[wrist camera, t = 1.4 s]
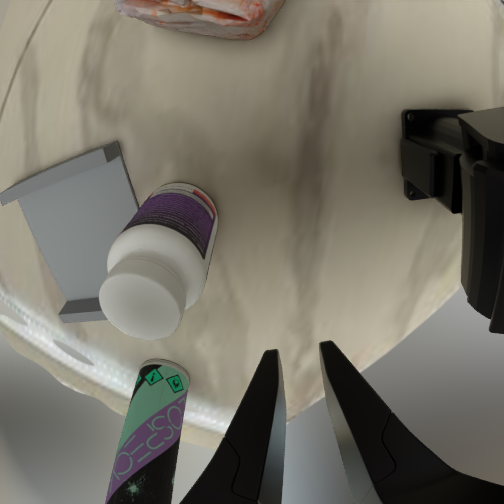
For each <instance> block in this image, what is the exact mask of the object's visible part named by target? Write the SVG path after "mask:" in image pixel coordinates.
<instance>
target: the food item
mask: <svg viewBox="0 0 504 504" xmlns="http://www.w3.org/2000/svg"><path fill="white" fill-rule="evenodd" d="M284 1H285V0H115V7H116V9H117V11H120V14H121V15H126V16H129V17H131V18H133V17H135V18H137V19H139V20H142V21H144V22H145V23H148V24H152V25H154V26H157V27H162V28H167V29H172V30H177V31H183V32H191V33H198V34H204V35H210V36H215V37H221V38H226V39H239V40H246V39H253V38H254V37H256V36H258V35H259V34H260V33H261V32H262V31H265V29H266V27H267V26H268V25H269V24H270V22H271V21H272V19H273V18H274V16H275V15H276V14H277V12H278V11H279V9H280V8H281V6H282V5H283V3H284Z"/></svg>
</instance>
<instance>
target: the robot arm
mask: <svg viewBox="0 0 504 504" xmlns="http://www.w3.org/2000/svg"><path fill="white" fill-rule="evenodd" d="M408 114H411V119H410V120H409V119H408ZM402 126H403V139H402V141H401V150H402V175H403V176H404V177H405V196H406V197H407V198H408V199H409V200H419V199H427V198H435V199H436V200H437V201H438V202H440V203H441V204H442V205H443V206H444V207H446V208H447V209H448V210H449V211H450V212H452V213H453V214H457V213H460V214H461V215H462V221H463V226H462V260H461V283H462V285H463V287H464V290H465V292H466V295H467V296H468V297H467V301H468V303H469V304H470V305H471V306H472V307H473V308H474V309H475V310H476V311H477V312H479V313H481V314H482V315H484V316H485V317H487V318H488V319H491V322H490V326H489V331H490V332H491V333H499V334H504V107H500V108H494V109H487V110H481V111H475V112H474V111H472V110H466V109H406V110H404V111H403V113H402ZM411 191H414V192H413V194H412V195H410V192H411ZM319 352H320V363H321V370H322V376H323V383H324V390H325V396H326V402H327V407H328V411H329V414H330V418H331V422H332V425H333V429H334V432H335V435H336V439H337V443H338V447H339V450H340V454H341V458H342V461H343V465H344V469H345V472H346V476H347V480H348V484H349V488H350V491H351V495H352V499H353V503H354V504H504V486H502V485H499V484H495V483H492V482H488V481H485V480H481V479H479V478H476V477H472V476H469V475H466V474H463V473H461V472H459V471H456V470H455V469H453V468H451V467H450V466H449V465H447V464H446V463H445V462H444V461H442V460H441V459H440V458H439V457H438V456H437V455H436V454H434V453H433V452H432V451H431V450H430V449H429V448H427V447H426V446H425V445H424V444H423V443H422V442H421V441H420V440H419V439H417V438H416V437H415V436H414V435H413V434H412V433H411V432H410V431H409V430H408V429H407V428H406V426H405V425H403V423H402V422H401V421H400V420H399V419H398V418H397V416H396V415H395V414H394V413H393V412H392V411H391V409H390V408H389V407H388V406H387V405H386V403H384V401H383V400H382V399H381V398H380V396H379V395H378V394H377V393H376V392H375V391H374V389H373V388H372V387H371V386H370V385H369V383H368V382H367V381H366V380H365V379H364V378H363V376H362V375H361V374H360V373H359V372H358V370H357V369H356V368H355V367H354V366H353V364H352V363H351V362H350V361H349V360H348V359H347V357H346V356H345V355H344V354H343V353H342V352H341V350H340V349H339V348H338V347H337V346H336V344H335V343H334V342H333V341H331V340H329V341H324V342H320V343H319ZM391 412H392V413H391ZM285 433H286V401H285V391H284V381H283V372H282V365H281V360H280V355H279V351H278V350H277V349H272V350H266V351H265V352H264V354H263V356H262V358H261V361H260V363H259V365H258V367H257V369H256V371H255V374H254V376H253V378H252V380H251V382H250V384H249V386H248V388H247V390H246V393H245V395H244V397H243V399H242V401H241V403H240V405H239V407H238V409H237V411H236V413H235V415H234V417H233V419H232V421H231V423H230V425H229V427H228V429H227V431H226V433H225V437H226V438H225V437H224V438H223V439H222V441H221V443H220V445H219V447H218V449H217V451H216V452H215V454H214V456H213V458H212V459H211V461H210V462H209V464H208V465H207V467H206V468H205V470H204V471H203V473H202V474H201V476H200V477H199V478H198V480H197V481H196V483H195V484H194V485H193V487H192V488H191V489H190V490H189V492H188V493H187V495H186V496H185V497H184V498H183V500H182V501H181V502H180V503H179V504H281V501H282V486H283V472H284V455H285V454H284V453H285Z"/></svg>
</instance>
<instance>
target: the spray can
mask: <svg viewBox="0 0 504 504" xmlns="http://www.w3.org/2000/svg"><path fill="white" fill-rule="evenodd" d="M188 386H189V375H188V373H187V372H186V371H185V370H184V369H183V368H182V367H181V366H179V365H177V364H175V363H173V362H170V361H167V360H161V359H152V360H148V361H146V362H144V363H143V364H142V366H141V369H140V372H139V375H138V378H137V381H136V385H135V388H134V391H133V395H132V398H131V402H130V405H129V409H128V412H127V416H126V419H125V423H124V427H123V431H122V434H121V438H120V442H119V447H118V450H117V454H116V458H115V462H114V466H113V470H112V475H111V479H110V483H109V488H108V492H107V498H106V502H105V504H171V500H172V492H173V485H174V477H175V470H176V463H177V455H178V449H179V442H180V436H181V429H182V423H183V417H184V410H185V404H186V398H187V392H188Z"/></svg>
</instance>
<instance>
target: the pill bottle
mask: <svg viewBox="0 0 504 504" xmlns="http://www.w3.org/2000/svg"><path fill="white" fill-rule="evenodd" d="M217 227H218V216H217V211H216V208H215V206H214V204H213V202H212V201H211V199H210V198H209V197H208V196H207V195H206V194H205V193H204V192H203V191H202V190H200V189H198V188H197V187H195V186H192V185H189V184H185V183H171V184H167V185H164V186H162V187H160V188H158V189H157V190H156V191H154V192H153V193H152V194H151V195H150V196H149V197H148V198H147V200H146V201H145V202H144V203H143V205H142V206H141V207H140V209H139V210H138V211H137V213H136V214H135V215H134V216H133V218H132V219H131V220H130V222H129V223H128V224H127V225H126V227H125V228H124V229H123V231H122V232H121V233H120V234H119V236H118V237H117V238H116V240H115V241H114V243H113V245H112V247H111V249H110V251H109V254H108V259H107V270H108V275H107V277H106V279H105V280H104V282H103V284H102V286H101V288H100V291H99V302H100V306H101V309H102V311H103V313H104V315H105V316H106V317H107V319H108V320H109V321H110V322H111V323H112V324H113V325H114V326H115V327H116V328H118V329H119V330H121V331H122V332H124V333H126V334H127V335H130V336H133V337H135V338H139V339H144V340H159V339H163V338H166V337H168V336H170V335H171V334H173V333H174V332H175V331H176V330H177V328H178V327H179V325H180V322H181V319H182V316H183V313H184V311H185V310H187V309H188V308H190V307H191V306H192V305H194V304H195V303H196V301H197V300H198V299H199V297H200V296H201V294H202V292H203V289H204V286H205V282H206V279H207V274H208V270H209V265H210V260H211V256H212V251H213V246H214V242H215V237H216V233H217Z"/></svg>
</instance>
